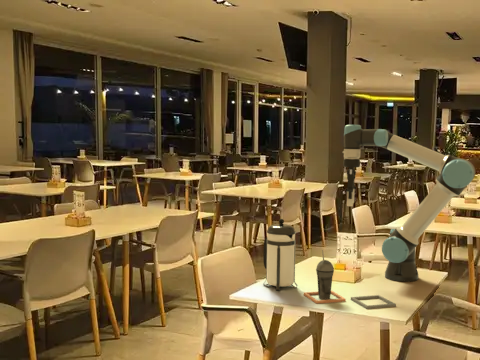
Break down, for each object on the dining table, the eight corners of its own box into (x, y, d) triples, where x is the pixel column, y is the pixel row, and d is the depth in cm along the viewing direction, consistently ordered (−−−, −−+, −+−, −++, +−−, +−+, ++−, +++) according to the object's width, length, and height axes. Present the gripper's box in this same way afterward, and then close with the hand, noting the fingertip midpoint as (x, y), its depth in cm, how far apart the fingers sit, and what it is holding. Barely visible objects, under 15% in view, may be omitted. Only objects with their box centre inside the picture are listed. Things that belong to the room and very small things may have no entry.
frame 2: (378, 297, 231) (378, 295, 231) (395, 306, 219) (395, 303, 219) (350, 299, 228) (350, 297, 228) (366, 308, 216) (366, 306, 215)
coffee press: (300, 283, 252) (302, 217, 250) (293, 292, 237) (294, 222, 235) (263, 280, 257) (264, 215, 255) (253, 288, 242) (254, 219, 240)
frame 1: (331, 292, 237) (331, 290, 237) (345, 301, 225) (345, 298, 225) (303, 294, 234) (303, 292, 234) (316, 303, 222) (316, 301, 221)
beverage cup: (335, 300, 226) (336, 251, 225) (317, 300, 226) (318, 251, 224) (331, 295, 234) (332, 247, 232) (313, 295, 233) (314, 247, 232)
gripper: (344, 157, 271) (343, 201, 273) (341, 159, 247) (340, 207, 249) (360, 157, 269) (359, 201, 271) (359, 159, 245) (358, 207, 247)
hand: (350, 204), depth 260 cm, fingers open, 13 cm apart
